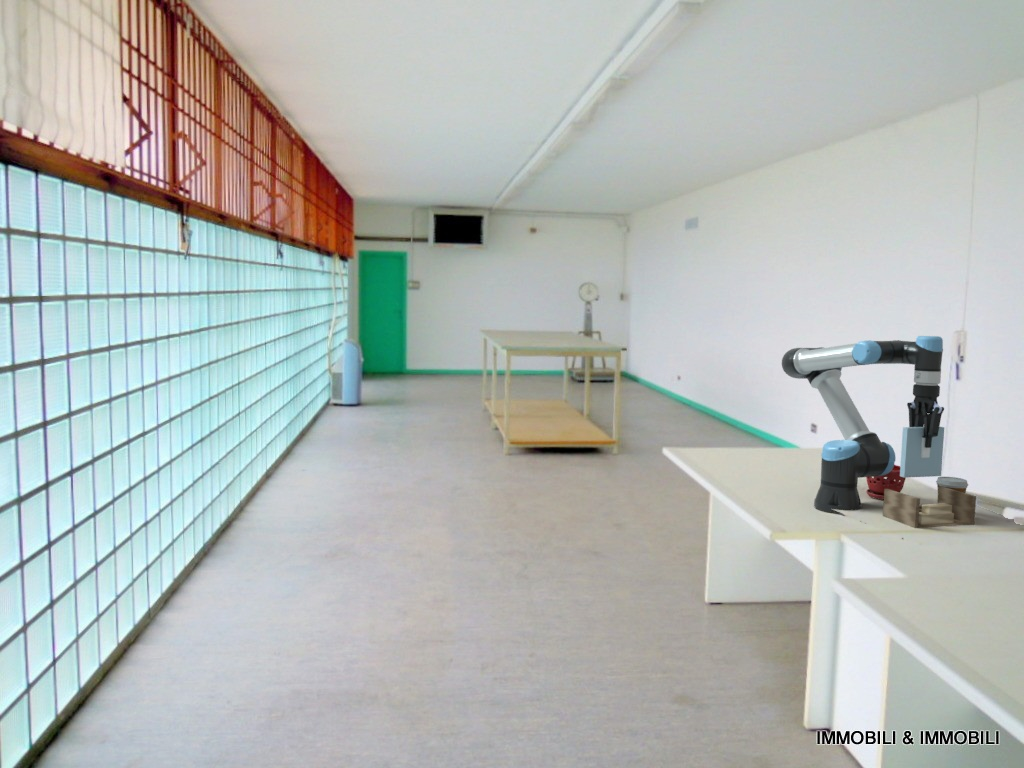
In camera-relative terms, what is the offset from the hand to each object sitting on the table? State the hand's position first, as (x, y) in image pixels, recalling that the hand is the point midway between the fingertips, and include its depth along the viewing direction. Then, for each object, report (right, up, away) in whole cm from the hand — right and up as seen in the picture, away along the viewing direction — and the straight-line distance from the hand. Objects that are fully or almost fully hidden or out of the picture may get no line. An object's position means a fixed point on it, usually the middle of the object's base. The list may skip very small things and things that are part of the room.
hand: (921, 456), depth 244 cm
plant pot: (+5, -19, +34) cm, 39 cm away
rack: (+1, -22, -2) cm, 22 cm away
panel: (0, -7, +1) cm, 6 cm away
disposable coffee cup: (+16, -21, +12) cm, 29 cm away
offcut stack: (+1, -20, -5) cm, 21 cm away
